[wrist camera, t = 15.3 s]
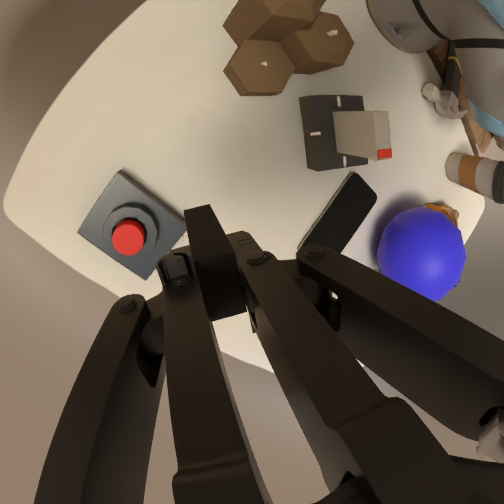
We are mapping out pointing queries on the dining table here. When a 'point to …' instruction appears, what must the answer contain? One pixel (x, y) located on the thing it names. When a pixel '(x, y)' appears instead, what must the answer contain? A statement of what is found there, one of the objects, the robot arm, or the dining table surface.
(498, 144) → the stone
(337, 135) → the timer knob
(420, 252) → the bomb
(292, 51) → the candle
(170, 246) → the stop housing
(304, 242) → the smartphone
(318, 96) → the panel
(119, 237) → the stop button
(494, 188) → the coffee cup
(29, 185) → the dining table surface
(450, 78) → the hammer
